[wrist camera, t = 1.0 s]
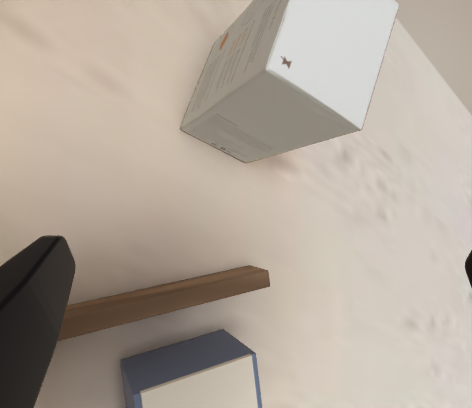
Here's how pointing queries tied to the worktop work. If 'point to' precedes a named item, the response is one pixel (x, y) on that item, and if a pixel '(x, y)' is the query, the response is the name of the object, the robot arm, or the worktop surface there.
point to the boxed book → (194, 375)
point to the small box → (290, 75)
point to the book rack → (159, 300)
